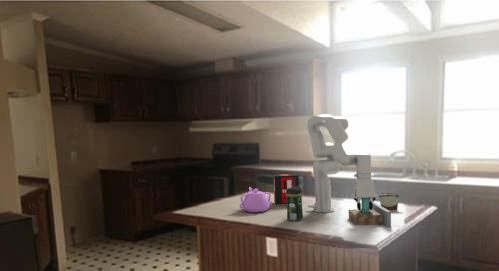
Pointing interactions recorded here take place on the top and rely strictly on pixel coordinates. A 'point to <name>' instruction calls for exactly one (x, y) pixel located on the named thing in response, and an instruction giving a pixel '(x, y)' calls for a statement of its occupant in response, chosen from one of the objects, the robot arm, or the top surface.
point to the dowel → (365, 205)
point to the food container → (389, 200)
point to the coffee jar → (294, 203)
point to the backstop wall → (385, 214)
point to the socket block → (366, 217)
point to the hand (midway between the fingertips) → (364, 209)
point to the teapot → (255, 201)
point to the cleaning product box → (284, 186)
